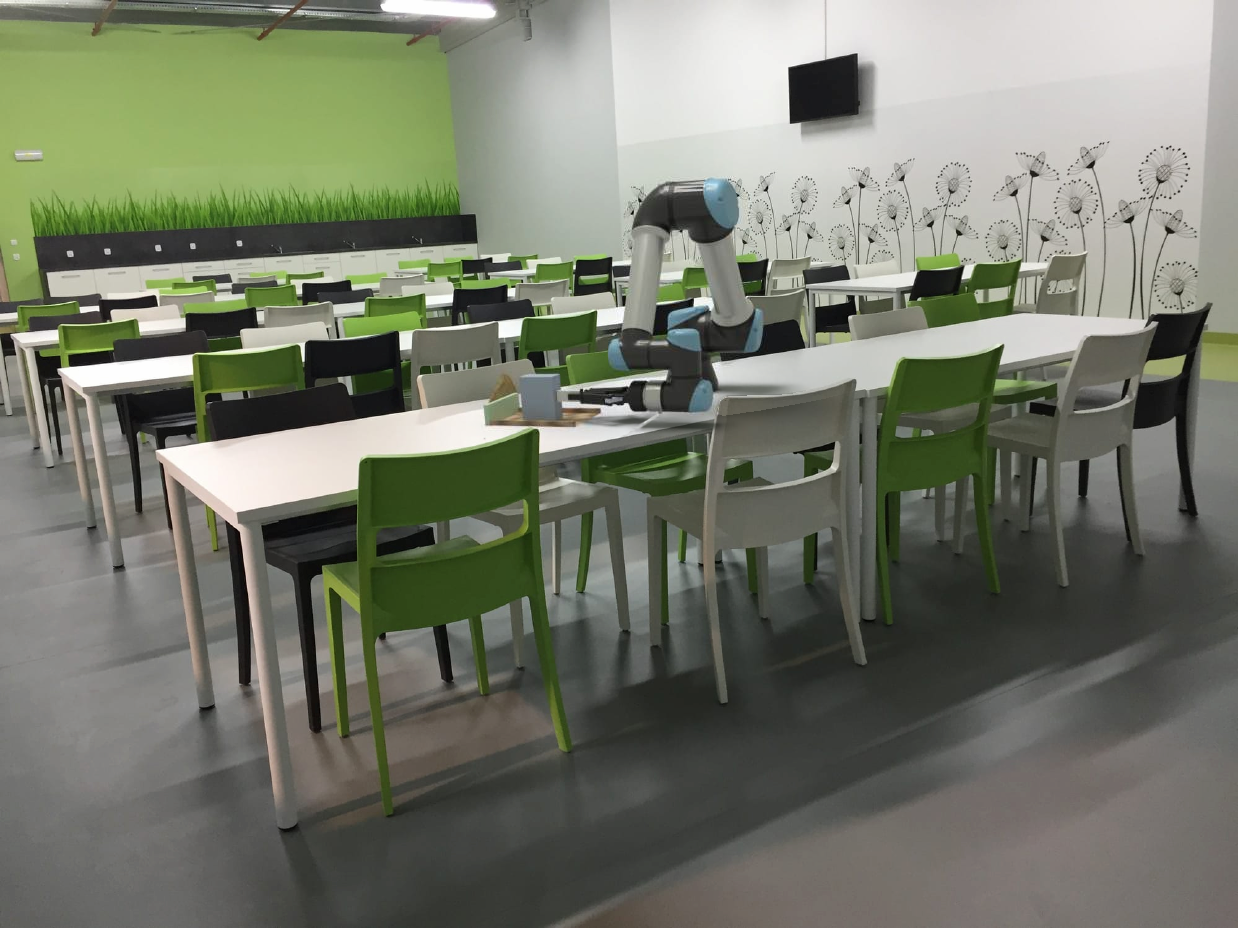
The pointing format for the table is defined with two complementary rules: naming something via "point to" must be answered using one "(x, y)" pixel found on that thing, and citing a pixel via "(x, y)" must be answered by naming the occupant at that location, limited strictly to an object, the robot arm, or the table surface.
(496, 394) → the rock
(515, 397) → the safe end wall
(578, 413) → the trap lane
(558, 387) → the block
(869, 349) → the table surface
